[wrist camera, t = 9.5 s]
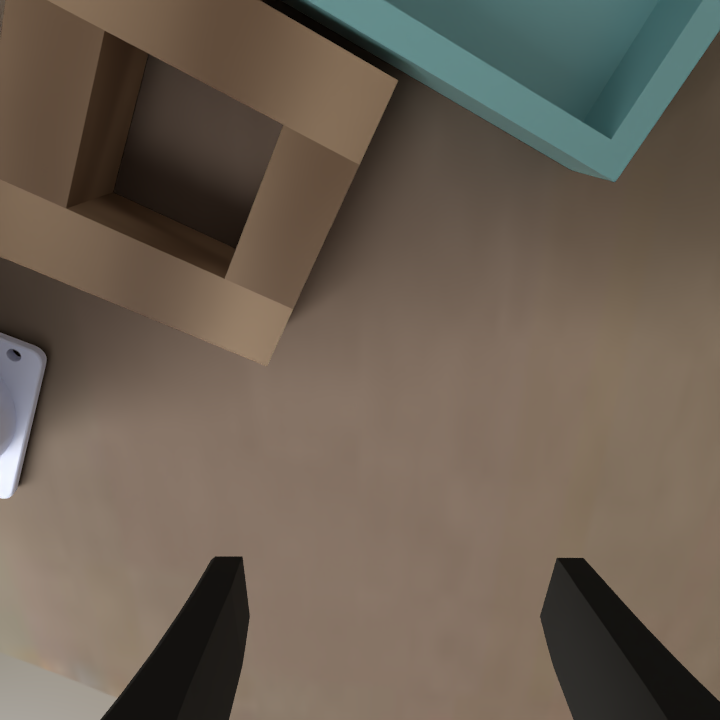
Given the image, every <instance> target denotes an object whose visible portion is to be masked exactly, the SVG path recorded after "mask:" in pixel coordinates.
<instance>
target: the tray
mask: <svg viewBox="0 0 720 720" xmlns="http://www.w3.org/2000/svg"><path fill="white" fill-rule="evenodd" d="M281 1H283V2H284V3H286V4H288V5H289V6H291V7H293V8H295V9H296V10H298V11H300V12H301V13H303V14H305V15H307V16H308V17H310V18H312V19H313V20H315V21H317V22H319V23H320V24H322V25H324V26H325V27H327V28H329V29H331V30H332V31H334V32H336V33H337V34H339V35H341V36H342V37H344V38H346V39H348V40H349V41H351V42H353V43H354V44H356V45H358V46H360V47H361V48H363V49H365V50H366V51H368V52H370V53H372V54H373V55H375V56H377V57H378V58H380V59H382V60H384V61H385V62H387V63H389V64H390V65H392V66H394V67H396V68H397V69H399V70H401V71H402V72H404V73H406V74H408V75H409V76H411V77H413V78H414V79H416V80H418V81H419V82H421V83H423V84H425V85H426V86H428V87H430V88H431V89H433V90H435V91H437V92H438V93H440V94H442V95H443V96H445V97H447V98H449V99H450V100H452V101H454V102H455V103H457V104H459V105H461V106H462V107H464V108H466V109H467V110H469V111H471V112H473V113H474V114H476V115H478V116H479V117H481V118H483V119H485V120H486V121H488V122H490V123H491V124H493V125H495V126H497V127H498V128H500V129H502V130H503V131H505V132H507V133H508V134H510V135H512V136H514V137H515V138H517V139H519V140H520V141H522V142H524V143H526V144H527V145H529V146H531V147H532V148H534V149H536V150H538V151H539V152H541V153H543V154H544V155H546V156H548V157H550V158H551V159H553V160H555V161H556V162H558V163H560V164H562V165H563V166H565V167H567V168H568V169H570V170H572V171H576V172H579V173H583V174H587V175H590V176H594V177H598V178H601V179H605V180H609V181H612V182H616V180H617V179H618V177H619V176H620V174H621V173H622V172H623V170H624V169H625V167H626V166H627V164H628V163H629V161H630V160H631V158H632V157H633V156H634V154H635V153H636V151H637V150H638V148H639V147H640V145H641V144H642V142H643V141H644V140H645V138H646V137H647V135H648V134H649V132H650V131H651V129H652V128H653V126H654V125H655V124H656V122H657V121H658V119H659V118H660V116H661V115H662V113H663V112H664V110H665V109H666V108H667V106H668V105H669V103H670V102H671V100H672V99H673V97H674V96H675V94H676V93H677V92H678V90H679V89H680V87H681V86H682V84H683V83H684V81H685V80H686V78H687V77H688V75H689V74H690V73H691V71H692V70H693V68H694V67H695V65H696V64H697V62H698V61H699V59H700V58H701V57H702V55H703V54H704V52H705V51H706V49H707V48H708V46H709V45H710V43H711V42H712V41H713V39H714V38H715V36H716V35H717V33H718V32H719V30H720V0H281Z"/></svg>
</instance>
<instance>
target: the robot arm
mask: <svg viewBox="0 0 720 720" xmlns="http://www.w3.org/2000/svg"><path fill="white" fill-rule="evenodd" d="M13 349H15V350H16V351H18V352H19V353H20V354H21V357H19V356H17V355H16V354H15V353H14V352H13ZM46 362H47V357H46V355H45V353H44V352H43V351H42V350H41V349H40V348H39V347H37V346H35V345H32V344H29V343H27V342H24V341H22V340H19V339H16V338H14V337H11V336H8V335H6V334H3V333H1V332H0V498H2V499H5V498H9V497H11V496H12V495H13V494H14V493H15V492H16V490H17V487H18V483H19V479H20V474H21V470H22V466H23V461H24V457H25V453H26V448H27V444H28V440H29V436H30V431H31V427H32V423H33V418H34V414H35V410H36V405H37V401H38V397H39V392H40V388H41V384H42V380H43V375H44V371H45V367H46ZM249 617H250V615H249V606H248V598H247V590H246V582H245V574H244V566H243V557H214V558H213V559H212V560H211V561H210V563H209V565H208V566H207V568H206V570H205V572H204V574H203V575H202V577H201V579H200V580H199V582H198V584H197V585H196V587H195V589H194V590H193V592H192V593H191V595H190V597H189V598H188V600H187V601H186V603H185V604H184V606H183V608H182V609H181V611H180V612H179V614H178V615H177V617H176V618H175V620H174V621H173V623H172V624H171V626H170V627H169V629H168V630H167V632H166V633H165V634H164V636H163V637H162V639H161V640H160V642H159V643H158V645H157V646H156V648H155V649H154V650H153V652H152V653H151V655H150V656H149V657H148V659H147V660H146V661H145V663H144V664H143V665H142V667H141V668H140V669H139V671H138V672H137V673H136V675H135V676H134V677H133V679H132V680H131V681H130V683H129V684H128V685H127V687H126V688H125V689H124V691H123V692H122V693H121V695H120V696H119V697H118V699H117V700H116V701H115V702H114V704H113V705H112V706H111V707H110V709H109V710H108V711H107V712H106V714H105V715H104V716H103V717H102V719H101V720H229V717H230V713H231V709H232V705H233V701H234V697H235V693H236V689H237V685H238V681H239V677H240V673H241V669H242V664H243V658H244V651H245V645H246V638H247V631H248V624H249ZM540 618H541V622H542V626H543V630H544V634H545V638H546V642H547V645H548V649H549V653H550V656H551V660H552V663H553V666H554V669H555V672H556V675H557V677H558V680H559V683H560V685H561V688H562V690H563V693H564V696H565V698H566V701H567V704H568V706H569V709H570V711H571V714H572V717H573V719H574V720H720V701H718V700H717V699H716V698H715V697H714V696H713V695H712V694H711V693H710V692H709V691H708V690H707V689H706V688H705V687H704V686H703V685H702V684H701V683H700V682H699V681H698V680H697V679H696V678H695V677H694V676H693V675H692V674H691V673H690V672H689V671H688V670H687V669H686V668H685V667H684V666H683V665H682V664H681V663H680V662H679V661H678V660H677V659H676V658H675V657H674V656H673V655H672V654H671V653H670V652H669V651H668V650H667V649H666V648H665V647H664V646H663V644H662V643H661V642H660V641H659V640H658V639H657V638H656V637H655V636H654V635H653V634H652V633H651V632H650V631H649V630H648V629H647V628H646V627H645V626H644V624H643V623H642V622H641V621H640V620H639V619H638V618H637V617H636V616H635V615H634V614H633V612H632V611H631V610H630V609H629V608H628V607H627V606H626V605H625V604H624V603H623V601H622V600H621V599H620V598H619V597H618V596H617V595H616V594H615V593H614V591H613V590H612V589H611V588H610V587H609V586H608V585H607V584H606V583H605V581H604V580H603V579H602V578H601V577H600V576H599V575H598V574H597V573H596V571H595V570H594V569H593V568H592V567H591V566H590V565H589V564H588V563H587V562H586V561H585V559H584V558H557V559H556V563H555V566H554V570H553V573H552V577H551V580H550V584H549V587H548V591H547V594H546V598H545V601H544V605H543V608H542V612H541V615H540Z"/></svg>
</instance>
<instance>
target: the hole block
mask: <svg viewBox="0 0 720 720" xmlns="http://www.w3.org/2000/svg"><path fill="white" fill-rule="evenodd" d="M148 54H150V55H152V56H154V57H156V58H158V59H160V60H161V61H163V62H165V63H167V64H169V65H171V66H173V67H175V68H177V69H179V70H180V71H182V72H184V73H186V74H188V75H190V76H192V77H194V78H196V79H197V80H199V81H201V82H203V83H205V84H207V85H209V86H211V87H213V88H215V89H216V90H218V91H220V92H222V93H224V94H226V95H228V96H230V97H232V98H234V99H235V100H237V101H239V102H241V103H243V104H245V105H247V106H249V107H251V108H253V109H254V110H256V111H258V112H260V113H262V114H264V115H266V116H268V117H270V118H271V119H273V120H275V121H277V122H279V123H281V124H283V127H282V130H281V132H280V135H279V138H278V140H277V143H276V146H275V148H274V151H273V153H272V156H271V159H270V161H269V164H268V166H267V169H266V172H265V174H264V177H263V180H262V182H261V185H260V187H259V190H258V193H257V195H256V198H255V201H254V203H253V206H252V208H251V211H250V214H249V216H248V219H247V221H246V224H245V227H244V229H243V232H242V235H241V237H240V240H239V242H238V245H237V248H236V249H235V248H233V247H231V246H229V245H226V244H224V243H222V242H220V241H218V240H216V239H213V238H211V237H209V236H207V235H205V234H203V233H200V232H198V231H196V230H194V229H192V228H189V227H187V226H185V225H183V224H181V223H179V222H176V221H174V220H172V219H170V218H168V217H165V216H163V215H161V214H159V213H157V212H155V211H152V210H150V209H148V208H146V207H144V206H142V205H139V204H137V203H135V202H133V201H131V200H128V199H126V198H124V197H122V196H120V195H118V194H115V193H113V191H114V187H115V183H116V179H117V175H118V171H119V167H120V163H121V159H122V155H123V151H124V148H125V144H126V140H127V136H128V132H129V128H130V124H131V120H132V116H133V112H134V108H135V105H136V101H137V97H138V93H139V89H140V85H141V81H142V77H143V73H144V69H145V65H146V61H147V58H148ZM397 82H398V80H396V79H395V78H393V77H391V76H390V75H388V74H386V73H384V72H383V71H381V70H379V69H377V68H376V67H374V66H372V65H371V64H369V63H367V62H365V61H364V60H362V59H360V58H358V57H357V56H355V55H353V54H352V53H350V52H348V51H346V50H345V49H343V48H341V47H339V46H338V45H336V44H334V43H333V42H331V41H329V40H327V39H326V38H324V37H322V36H320V35H319V34H317V33H315V32H314V31H312V30H310V29H308V28H307V27H305V26H303V25H301V24H300V23H298V22H296V21H295V20H293V19H291V18H289V17H288V16H286V15H284V14H282V13H281V12H279V11H277V10H276V9H274V8H272V7H270V6H269V5H267V4H265V3H263V2H262V1H260V0H5V7H4V14H3V22H2V29H1V36H0V257H2V258H4V259H7V260H9V261H12V262H14V263H17V264H19V265H22V266H24V267H26V268H29V269H31V270H34V271H36V272H39V273H41V274H43V275H46V276H48V277H51V278H53V279H56V280H58V281H60V282H63V283H65V284H68V285H70V286H73V287H75V288H77V289H80V290H82V291H85V292H87V293H90V294H92V295H94V296H97V297H99V298H102V299H104V300H107V301H109V302H111V303H114V304H116V305H119V306H121V307H124V308H126V309H128V310H131V311H133V312H136V313H138V314H141V315H143V316H145V317H148V318H150V319H153V320H155V321H158V322H160V323H162V324H165V325H167V326H170V327H172V328H175V329H177V330H179V331H182V332H184V333H187V334H189V335H192V336H194V337H196V338H199V339H201V340H204V341H206V342H209V343H211V344H213V345H216V346H218V347H221V348H223V349H226V350H228V351H230V352H233V353H235V354H238V355H240V356H243V357H245V358H247V359H250V360H252V361H255V362H257V363H260V364H262V365H264V366H267V365H268V363H269V361H270V359H271V356H272V354H273V352H274V350H275V348H276V346H277V343H278V341H279V339H280V337H281V335H282V333H283V330H284V328H285V326H286V324H287V322H288V319H289V317H290V315H291V313H292V311H293V309H294V306H295V304H296V302H297V300H298V298H299V296H300V293H301V291H302V289H303V287H304V285H305V282H306V280H307V278H308V276H309V274H310V272H311V269H312V267H313V265H314V263H315V261H316V259H317V256H318V254H319V252H320V250H321V248H322V245H323V243H324V241H325V239H326V237H327V235H328V232H329V230H330V228H331V226H332V224H333V222H334V219H335V217H336V215H337V213H338V211H339V208H340V206H341V204H342V202H343V200H344V198H345V195H346V193H347V191H348V189H349V187H350V185H351V182H352V180H353V178H354V176H355V174H356V172H357V169H358V167H359V165H360V163H361V161H362V158H363V156H364V154H365V152H366V150H367V148H368V145H369V143H370V141H371V139H372V137H373V135H374V132H375V130H376V128H377V126H378V124H379V121H380V119H381V117H382V115H383V113H384V111H385V108H386V106H387V104H388V102H389V100H390V98H391V95H392V93H393V91H394V89H395V87H396V84H397Z"/></svg>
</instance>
